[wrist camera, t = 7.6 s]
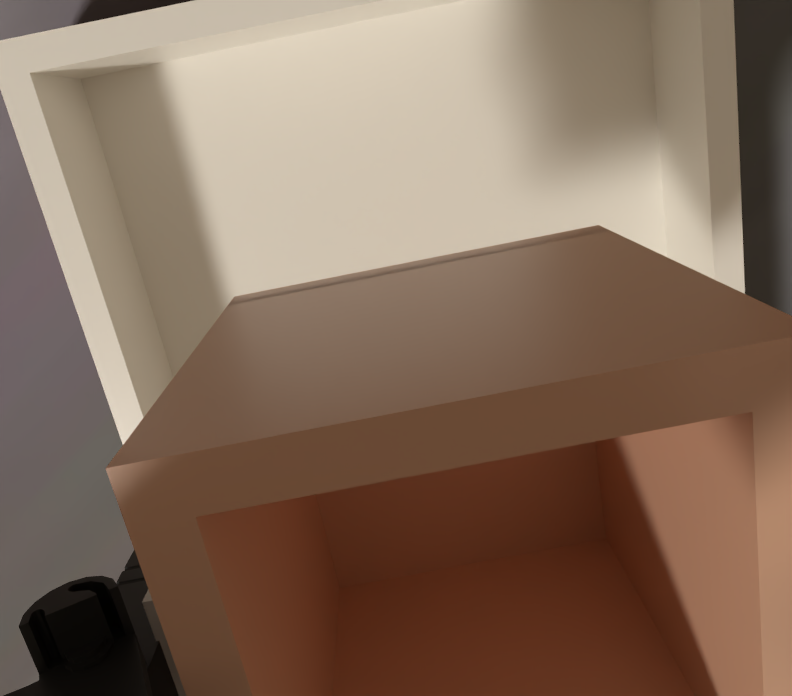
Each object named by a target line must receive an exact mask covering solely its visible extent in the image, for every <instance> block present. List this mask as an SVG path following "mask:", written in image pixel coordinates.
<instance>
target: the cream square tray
mask: <svg viewBox="0 0 792 696" xmlns="http://www.w3.org/2000/svg"><path fill="white" fill-rule="evenodd" d="M0 90H1V93H2V96H3V99H4V101H5V104H6V107H7V110H8V113H9V116H10V119H11V122H12V125H13V128H14V130H15V133H16V136H17V139H18V142H19V145H20V148H21V151H22V154H23V157H24V159H25V162H26V165H27V168H28V171H29V174H30V177H31V180H32V183H33V186H34V188H35V191H36V194H37V197H38V200H39V203H40V206H41V209H42V212H43V215H44V217H45V220H46V223H47V226H48V229H49V232H50V235H51V238H52V241H53V244H54V246H55V249H56V252H57V255H58V258H59V261H60V264H61V267H62V270H63V273H64V275H65V278H66V281H67V284H68V287H69V290H70V293H71V296H72V299H73V302H74V304H75V307H76V310H77V313H78V316H79V319H80V322H81V325H82V328H83V331H84V333H85V336H86V339H87V342H88V345H89V348H90V351H91V354H92V357H93V360H94V362H95V365H96V368H97V371H98V374H99V377H100V380H101V383H102V386H103V389H104V391H105V394H106V397H107V400H108V403H109V406H110V409H111V412H112V415H113V418H114V420H115V423H116V426H117V429H118V432H119V435H120V438H121V441H122V444H124V443H125V442H126V440H127V439H128V438H129V436H130V435H131V434H132V432H133V431H134V430H135V428H136V427H137V426H138V424H139V423H140V422H141V420H142V419H143V418H144V416H145V415H146V414H147V412H148V411H149V410H150V408H151V407H152V406H153V404H154V403H155V402H156V400H157V399H158V398H159V396H160V395H161V394H162V392H163V391H164V390H165V388H166V387H167V386H168V384H169V383H170V382H171V380H172V379H173V378H174V376H175V375H176V374H177V372H178V371H179V370H180V368H181V367H182V366H183V364H184V363H185V362H186V360H187V359H188V358H189V356H190V355H191V354H192V352H193V351H194V350H195V348H196V347H197V346H198V344H199V343H200V342H201V340H202V339H203V338H204V336H205V335H206V334H207V332H208V331H209V330H210V328H211V327H212V326H213V324H214V323H215V322H216V320H217V319H218V318H219V316H220V315H221V314H222V312H223V311H224V310H225V308H226V307H227V306H228V304H229V303H230V302H231V300H232V299H233V298H234V297H235V296H240V295H245V294H250V293H255V292H260V291H265V290H270V289H275V288H280V287H285V286H290V285H296V284H301V283H306V282H311V281H316V280H321V279H326V278H331V277H336V276H341V275H346V274H352V273H357V272H362V271H367V270H372V269H377V268H382V267H387V266H392V265H397V264H402V263H407V262H413V261H418V260H423V259H428V258H433V257H438V256H443V255H448V254H453V253H458V252H463V251H469V250H474V249H479V248H484V247H489V246H494V245H499V244H504V243H509V242H514V241H519V240H524V239H530V238H535V237H540V236H545V235H550V234H555V233H560V232H565V231H570V230H575V229H580V228H586V227H591V226H596V225H600V226H602V227H604V228H606V229H608V230H610V231H612V232H615V233H617V234H619V235H621V236H623V237H625V238H627V239H629V240H632V241H634V242H636V243H638V244H640V245H642V246H644V247H646V248H649V249H651V250H653V251H655V252H657V253H659V254H661V255H663V256H665V257H668V258H670V259H672V260H674V261H676V262H678V263H680V264H682V265H685V266H687V267H689V268H691V269H693V270H695V271H697V272H699V273H701V274H704V275H706V276H708V277H710V278H712V279H714V280H716V281H718V282H721V283H723V284H725V285H727V286H729V287H731V288H733V289H735V290H738V291H740V292H742V293H744V294H745V282H744V256H743V230H742V205H741V179H740V153H739V128H738V102H737V76H736V51H735V25H734V0H194V1H189V2H184V3H179V4H174V5H169V6H165V7H160V8H155V9H150V10H145V11H140V12H136V13H131V14H126V15H121V16H116V17H112V18H107V19H102V20H97V21H92V22H87V23H83V24H78V25H73V26H68V27H63V28H58V29H54V30H49V31H44V32H39V33H34V34H29V35H25V36H20V37H15V38H10V39H5V40H1V41H0Z"/></svg>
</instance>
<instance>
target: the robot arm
mask: <svg viewBox="0 0 792 696" xmlns="http://www.w3.org/2000/svg"><path fill="white" fill-rule="evenodd" d="M19 628H20V631H21V633H22V635H23V638H24V640H25V642H26V645H27V647H28V649H29V651H30V654H31V656H32V658H33V661H34V663H35V665H36V668H37V670H38V672H39V681H37V682H35V683H33V684H31V685H29V686H26V687H24V688H21V689H19V690H16V691H14V692H11V693H9V694H6V695H4V696H186V693H185V691H184V688H183V685H182V682H181V679H180V677H179V674H178V671H177V668H176V665H175V662H174V660H173V657H172V654H171V651H170V648H169V646H168V643H167V640H166V637H165V634H164V632H163V629H162V626H161V623H160V620H159V617H158V615H157V612H156V609H155V606H154V603H153V601H152V598H151V595H150V592H149V589H148V586H147V584H146V581H145V578H144V575H143V572H142V570H141V567H140V564H139V561H138V558H137V555H136V553H135V550H134V551H133V553H132V555H131V557H130V559H129V560H128V562H127V564H126V566H125V571H123V572H122V573H121V575H120V577H119V579H118V581H117V584H116V583H115V581H114V580H113V579H112V578H108V577H104V576H93V577H85V578H82V579H78V580H75V581H72V582H68V583H66V584H64V585H62V586H60V587H58V588H56V589H54V590H52V591H50V592H49V593H47V594H46V595H44V596H43V597H42V598H40V599H39V600H37V601H36V602H35V603H34V604H33V605H32V606H31V607H30V608H29V609H28V610H27V611H26V612H25V614H24V615H23V617H22V619H21V622H20V624H19Z"/></svg>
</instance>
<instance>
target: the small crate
mask: <svg viewBox="0 0 792 696" xmlns="http://www.w3.org/2000/svg"><path fill="white" fill-rule="evenodd" d="M106 471H107V474H108V477H109V479H110V482H111V485H112V488H113V491H114V493H115V496H116V499H117V502H118V505H119V508H120V510H121V513H122V516H123V519H124V522H125V524H126V527H127V530H128V533H129V536H130V539H131V541H132V544H133V547H134V550H135V553H136V555H137V558H138V561H139V564H140V567H141V570H142V572H143V575H144V578H145V581H146V584H147V586H148V589H149V592H150V595H151V598H152V601H153V603H154V606H155V609H156V612H157V615H158V617H159V620H160V623H161V626H162V629H163V632H164V634H165V637H166V640H167V643H168V646H169V648H170V651H171V654H172V657H173V660H174V662H175V665H176V668H177V671H178V674H179V677H180V679H181V682H182V685H183V688H184V691H185V693H186V696H792V316H790V315H788V314H786V313H784V312H782V311H780V310H778V309H776V308H774V307H771V306H769V305H767V304H765V303H763V302H761V301H759V300H757V299H754V298H752V297H750V296H748V295H746V294H744V293H742V292H740V291H738V290H735V289H733V288H731V287H729V286H727V285H725V284H723V283H721V282H718V281H716V280H714V279H712V278H710V277H708V276H706V275H704V274H701V273H699V272H697V271H695V270H693V269H691V268H689V267H687V266H685V265H682V264H680V263H678V262H676V261H674V260H672V259H670V258H668V257H665V256H663V255H661V254H659V253H657V252H655V251H653V250H651V249H649V248H646V247H644V246H642V245H640V244H638V243H636V242H634V241H632V240H629V239H627V238H625V237H623V236H621V235H619V234H617V233H615V232H612V231H610V230H608V229H606V228H604V227H602V226H600V225H596V226H591V227H586V228H580V229H575V230H570V231H565V232H560V233H555V234H550V235H545V236H540V237H535V238H530V239H524V240H519V241H514V242H509V243H504V244H499V245H494V246H489V247H484V248H479V249H474V250H469V251H463V252H458V253H453V254H448V255H443V256H438V257H433V258H428V259H423V260H418V261H413V262H407V263H402V264H397V265H392V266H387V267H382V268H377V269H372V270H367V271H362V272H357V273H352V274H346V275H341V276H336V277H331V278H326V279H321V280H316V281H311V282H306V283H301V284H296V285H290V286H285V287H280V288H275V289H270V290H265V291H260V292H255V293H250V294H245V295H240V296H235V297H234V298H233V299H232V300H231V302H230V303H229V304H228V306H227V307H226V308H225V310H224V311H223V312H222V314H221V315H220V316H219V318H218V319H217V320H216V322H215V323H214V324H213V326H212V327H211V328H210V330H209V331H208V332H207V334H206V335H205V336H204V338H203V339H202V340H201V342H200V343H199V344H198V346H197V347H196V348H195V350H194V351H193V352H192V354H191V355H190V356H189V358H188V359H187V360H186V362H185V363H184V364H183V366H182V367H181V368H180V370H179V371H178V372H177V374H176V375H175V376H174V378H173V379H172V380H171V382H170V383H169V384H168V386H167V387H166V388H165V390H164V391H163V392H162V394H161V395H160V396H159V398H158V399H157V400H156V402H155V403H154V404H153V406H152V407H151V408H150V410H149V411H148V412H147V414H146V415H145V416H144V418H143V419H142V420H141V422H140V423H139V424H138V426H137V427H136V428H135V430H134V431H133V432H132V434H131V435H130V436H129V438H128V439H127V440H126V442H125V443H124V444H123V446H122V447H121V448H120V450H119V451H118V452H117V454H116V455H115V456H114V458H113V459H112V460H111V462H110V463H109V464H108V466H107V467H106Z"/></svg>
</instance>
